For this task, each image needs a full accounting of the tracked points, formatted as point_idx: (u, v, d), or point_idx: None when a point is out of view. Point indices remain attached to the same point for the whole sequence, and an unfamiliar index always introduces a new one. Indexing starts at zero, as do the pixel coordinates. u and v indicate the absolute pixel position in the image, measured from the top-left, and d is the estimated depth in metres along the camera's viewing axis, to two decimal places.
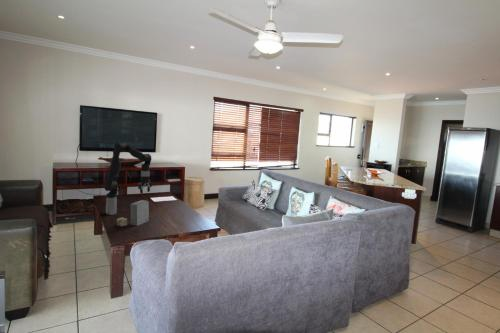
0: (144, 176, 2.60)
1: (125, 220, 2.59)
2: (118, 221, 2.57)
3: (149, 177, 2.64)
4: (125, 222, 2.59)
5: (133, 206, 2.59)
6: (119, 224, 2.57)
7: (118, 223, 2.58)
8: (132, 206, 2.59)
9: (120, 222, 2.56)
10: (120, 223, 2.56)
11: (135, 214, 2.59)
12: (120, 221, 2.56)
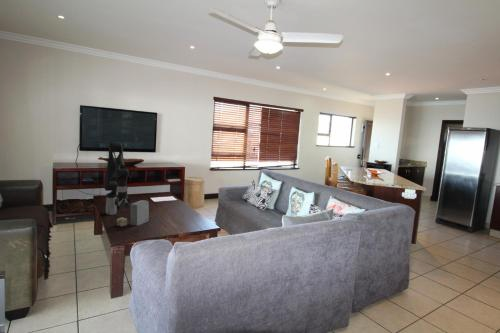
0: (121, 192, 2.52)
1: (125, 220, 2.59)
2: (118, 221, 2.57)
3: (126, 192, 2.57)
4: (125, 222, 2.59)
5: (133, 206, 2.59)
6: (119, 224, 2.57)
7: (118, 223, 2.58)
8: (132, 206, 2.59)
9: (120, 222, 2.56)
10: (120, 223, 2.56)
11: (135, 214, 2.59)
12: (120, 221, 2.56)
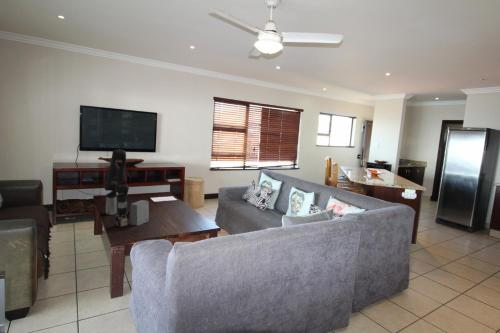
0: (121, 208, 2.54)
1: (125, 220, 2.59)
2: None
3: (126, 208, 2.59)
4: (125, 222, 2.59)
5: (133, 206, 2.59)
6: None
7: None
8: (132, 206, 2.59)
9: (120, 222, 2.56)
10: (120, 223, 2.56)
11: (135, 214, 2.59)
12: (120, 221, 2.56)
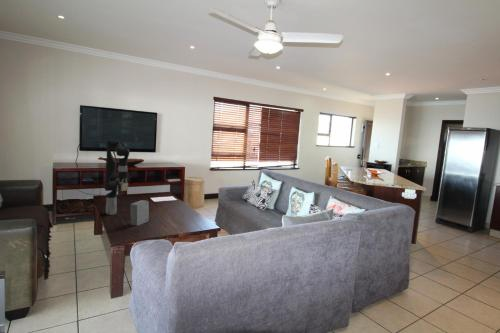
0: (121, 171, 2.49)
1: (126, 185, 2.54)
2: None
3: (127, 172, 2.54)
4: (126, 187, 2.55)
5: (133, 206, 2.59)
6: None
7: None
8: (132, 206, 2.59)
9: (121, 186, 2.52)
10: (121, 187, 2.52)
11: (135, 214, 2.59)
12: (121, 185, 2.52)
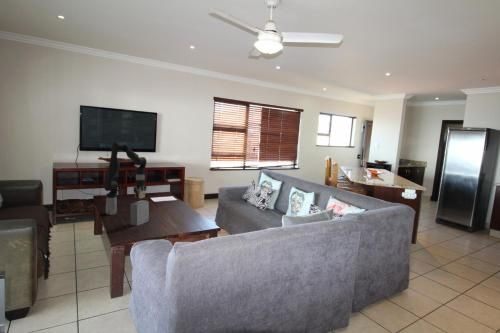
0: (139, 180, 2.59)
1: (143, 192, 2.64)
2: None
3: (144, 180, 2.63)
4: (143, 194, 2.64)
5: (133, 206, 2.59)
6: None
7: None
8: (132, 206, 2.59)
9: (138, 194, 2.61)
10: (138, 195, 2.61)
11: (135, 214, 2.59)
12: (138, 193, 2.61)
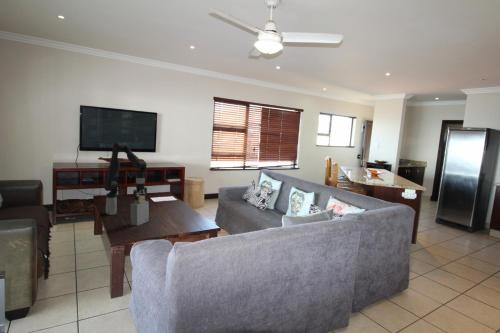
0: (139, 183, 2.59)
1: (143, 197, 2.64)
2: None
3: (144, 184, 2.64)
4: (143, 199, 2.64)
5: (133, 206, 2.59)
6: (137, 201, 2.62)
7: None
8: (132, 206, 2.59)
9: (138, 199, 2.62)
10: (138, 200, 2.62)
11: (135, 214, 2.59)
12: (138, 198, 2.61)
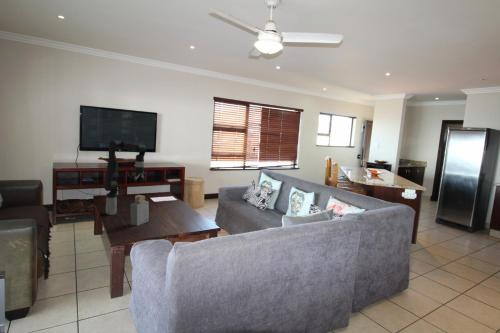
0: (138, 167, 2.61)
1: (143, 197, 2.64)
2: (136, 198, 2.63)
3: (143, 168, 2.65)
4: (143, 199, 2.64)
5: (133, 206, 2.59)
6: (137, 201, 2.62)
7: (136, 200, 2.63)
8: (132, 206, 2.59)
9: (138, 199, 2.62)
10: (138, 200, 2.62)
11: (135, 214, 2.59)
12: (138, 198, 2.61)
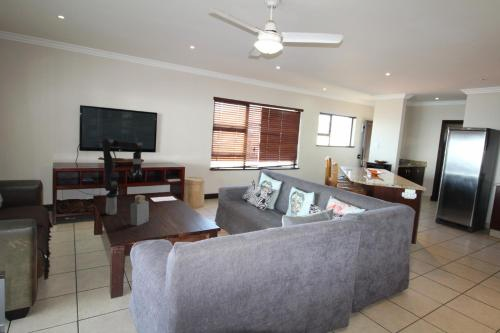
0: (136, 163, 2.71)
1: (143, 197, 2.64)
2: (136, 198, 2.63)
3: None
4: (143, 199, 2.64)
5: (133, 206, 2.59)
6: (137, 201, 2.62)
7: (136, 200, 2.63)
8: (132, 206, 2.59)
9: (138, 199, 2.62)
10: (138, 200, 2.62)
11: (135, 214, 2.59)
12: (138, 198, 2.61)
